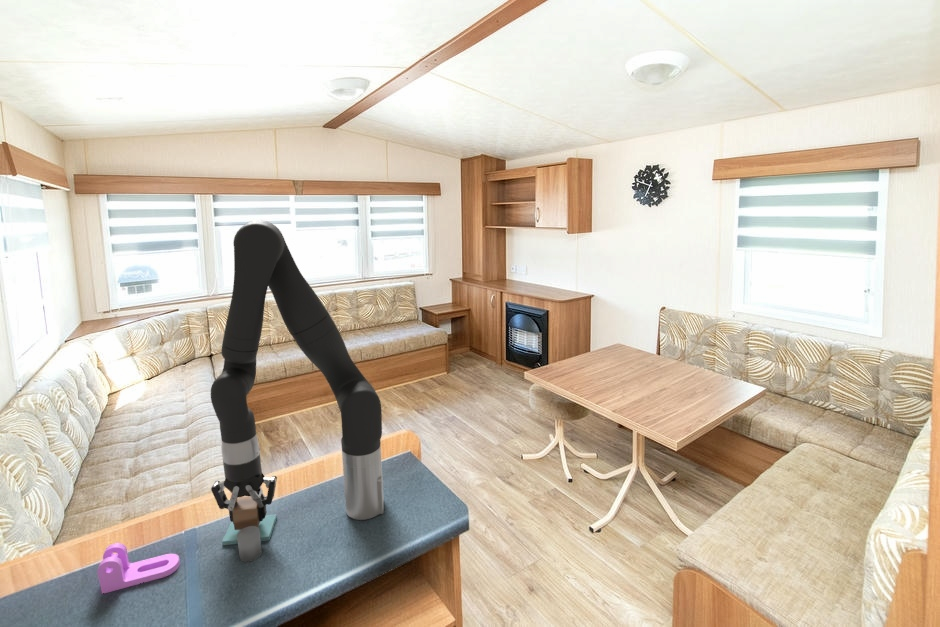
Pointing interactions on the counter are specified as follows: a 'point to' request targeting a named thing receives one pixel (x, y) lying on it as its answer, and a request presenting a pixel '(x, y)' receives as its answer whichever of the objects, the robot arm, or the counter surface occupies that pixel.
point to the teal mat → (264, 527)
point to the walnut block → (245, 513)
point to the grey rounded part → (249, 543)
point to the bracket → (132, 568)
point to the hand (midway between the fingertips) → (249, 520)
